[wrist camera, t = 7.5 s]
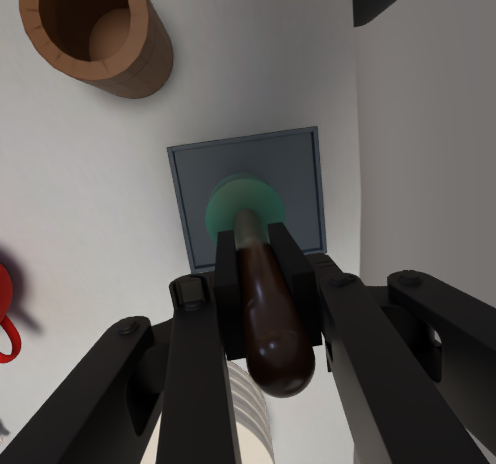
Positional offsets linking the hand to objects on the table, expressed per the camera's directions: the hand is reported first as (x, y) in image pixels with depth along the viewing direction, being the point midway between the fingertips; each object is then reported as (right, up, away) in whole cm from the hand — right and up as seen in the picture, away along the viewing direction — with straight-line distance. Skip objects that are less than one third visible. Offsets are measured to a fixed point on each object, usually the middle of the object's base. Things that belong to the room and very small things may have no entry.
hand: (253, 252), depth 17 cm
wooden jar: (-15, +23, +24) cm, 36 cm away
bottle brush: (-1, +3, +11) cm, 11 cm away
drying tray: (0, +5, +30) cm, 30 cm away
